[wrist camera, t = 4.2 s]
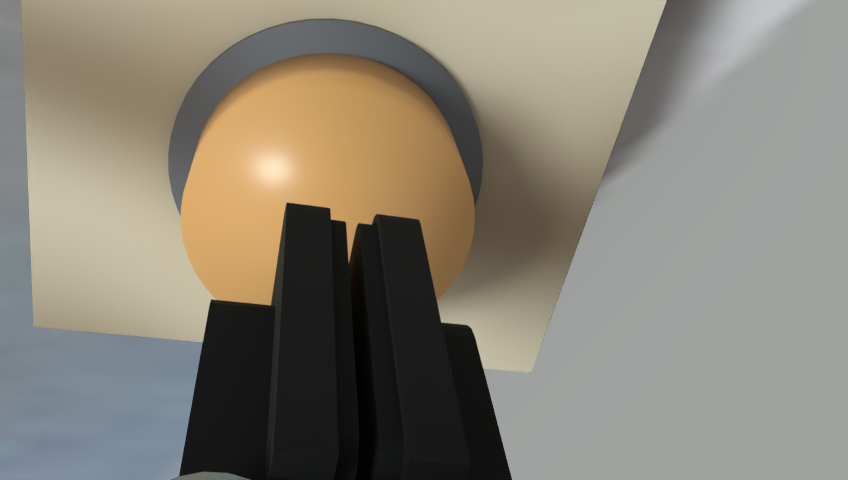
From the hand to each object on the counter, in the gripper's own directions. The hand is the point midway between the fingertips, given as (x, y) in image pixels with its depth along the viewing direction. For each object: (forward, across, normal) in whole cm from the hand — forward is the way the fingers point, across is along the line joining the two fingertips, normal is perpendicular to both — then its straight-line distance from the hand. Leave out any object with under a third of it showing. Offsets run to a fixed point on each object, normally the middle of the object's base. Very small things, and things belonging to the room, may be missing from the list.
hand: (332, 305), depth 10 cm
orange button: (+5, 0, +1) cm, 5 cm away
